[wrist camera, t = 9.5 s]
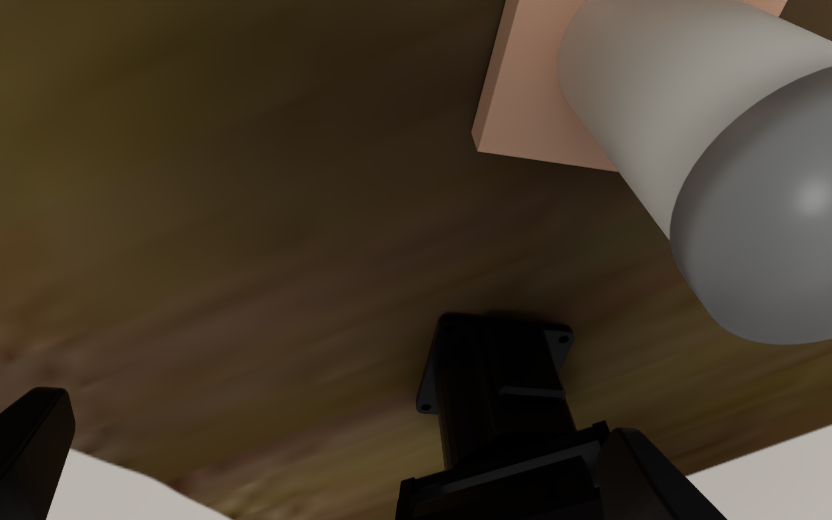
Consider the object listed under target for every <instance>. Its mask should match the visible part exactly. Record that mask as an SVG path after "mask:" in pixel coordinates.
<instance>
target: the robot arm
mask: <svg viewBox="0 0 832 520" xmlns="http://www.w3.org/2000/svg"><path fill="white" fill-rule="evenodd" d="M448 325H453V326H451V327H446V326H448ZM562 336H564V337H562ZM573 341H574V335H573V332H572V330H571V328H569V327H567V326H560V325H550V324H539V323H529V322H519V321H508V320H498V319H487V318H477V317H467V316H456V315H446V316H443V317H442V318H441V319H440V320H439V321H438V324H437V328H436V331H435V335H434V338H433V342H432V345H431V349H430V352H429V356H428V359H427V363H426V366H425V370H424V373H423V377H422V381H421V384H420V388H419V391H418V395H417V398H416V409H417V411H418V412H420V413H424V414H438V417H439V426H440V434H441V442H442V450H443V459H444V467H445V470H444V471H441V472H438V473H434V474H431V475H427V476H424V477H421V478H417V479H415V478H414V477H413V478H409V479H406V480H403V481H401V485H400V493H399V499H398V502H397V509H396V517H395V520H727V519H726V518H725V517H724V516H723V515H722V514H721V513H720V512H719V511H718V510H717V509H716V507H715V506H714V505H713V504H712V503H711V502H709V500H708V499H707V498H706V497H705V496H704V495H703V494H702V493H701V492H700V491H699V490H698V489H697V488H696V487H695V486H694V485H693V484H692V483H691V482H690V481H689V480H688V479H687V478H686V477H685V476H684V475H683V474H682V473H681V472H680V471H679V470H678V469H677V468H676V467H675V466H674V465H673V464H672V463H671V462H670V461H669V460H668V459H667V458H666V457H665V456H664V455H663V453H662V452H661V451H660V450H659V449H658V448H657V447H656V446H655V445H654V444H653V443H652V442H651V441H650V440H649V439H648V438H647V437H646V436H645V435H644V434H643V433H642V432H640V431H639V430H637V429H633V428H615V429H614V430H613V431H612V432H611V433H610V431H609V428H608V426H607V424H606V421H605V420H604V421H601V422H598V423H594V424H592V426H593V427H589V428H586V429H582V430H579V431H577V429H576V426H575V424H574V421H573V418H572V415H571V412H570V409H569V406H568V404H567V401H566V398H565V390H564V387H563V384H562V381H561V378H560V375H559V373H558V372H559V370H560V368H561V366H562V364H563V362H564V360H565V358H566V356H567V353H568V351H569V349H570V347H571V345H572V343H573ZM74 433H75V418H74V414H73V410H72V406H71V402H70V398H69V394H68V392H67V391H66V390H65V389H63V388H55V387H36V388H34V389H32V390H30V391H29V392H27V393H26V394H25V395H23V396H22V397H21V398H19V399H18V400H17V401H15V402H14V403H13V404H12V405H10V406H9V407H8V408H6V409H5V410H4V411H2V412H1V413H0V520H46V518H47V514H48V512H49V509H50V505H51V503H52V500H53V497H54V494H55V491H56V488H57V485H58V482H59V479H60V476H61V473H62V470H63V467H64V464H65V461H66V458H67V455H68V452H69V449H70V446H71V443H72V440H73V437H74Z"/></svg>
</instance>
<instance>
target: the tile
mask: <svg viewBox="0 0 832 520" xmlns="http://www.w3.org/2000/svg"><path fill="white" fill-rule="evenodd" d="M585 1H586V0H506V2H505V6H504V10H503V13H502V17H501V21H500V25H499V29H498V33H497V36H496V40H495V44H494V48H493V52H492V55H491V59H490V63H489V67H488V71H487V75H486V78H485V82H484V86H483V90H482V94H481V97H480V101H479V105H478V109H477V113H476V117H475V120H474V124H473V128H472V132H471V133H472V136H473V139H474V142H475V145H476V148H477V151H479V152H486V153H492V154H499V155H506V156H513V157H520V158H527V159H534V160H541V161H547V162H554V163H561V164H568V165H575V166H582V167H589V168H595V169H602V170H609V171H616V172H619V171H618V170H617V169H616V167H615V166H614V165H613V163H612V162H611V161H610V159H609V158H608V157H607V155H606V154H605V153H604V151H603V150H602V148H601V147H600V146H599V144H598V143H597V142H596V140H595V139H594V138H593V136H592V135H591V134H590V132H589V131H588V129H587V128H586V127H585V125H584V124H583V123H582V121H581V120H580V119H579V117H578V116H577V115H576V113H575V112H574V110H573V109H572V108H571V106H570V105H569V104H568V102H567V100H566V99H565V97H564V95H563V93H562V91H561V88H560V84H559V80H558V72H557V61H558V54H559V48H560V45H561V41H562V38H563V36H564V33H565V30H566V28H567V26H568V25H569V23H570V21H571V19H572V18H573V16H574V15H575V13H576V12H577V10H578V9H579V8H580V6H581V5H582V4H583V3H584V2H585ZM741 1H743V2H745V3H748V4H750V5H752V6H754V7H757V8H759V9H761V10H763V11H765V12H768V13H770V14H772V15H774V16H776V17H779V15H780V13H781V11H782V9H783V8H784V6H785V4H786V2H787V0H741Z"/></svg>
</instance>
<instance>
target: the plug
mask: <svg viewBox="0 0 832 520" xmlns="http://www.w3.org/2000/svg"><path fill="white" fill-rule="evenodd" d="M557 72H558V80H559V84H560V88H561V91H562V93H563V95H564V97H565V99H566V100H567V102H568V104H569V105H570V106H571V108H572V109H573V110H574V112H575V113H576V115H577V116H578V117H579V119H580V120H581V121H582V123H583V124H584V125H585V127H586V128H587V129H588V131H589V132H590V134H591V135H592V136H593V138H594V139H595V140H596V142H597V143H598V144H599V146H600V147H601V148H602V150H603V151H604V153H605V154H606V155H607V157H608V158H609V159H610V161H611V162H612V163H613V165H614V166H615V167H616V169H617V170H618V171H619V173H620V174H621V176H622V177H623V178H624V180H625V181H626V182H627V184H628V185H629V186H630V188H631V189H632V190H633V192H634V193H635V195H636V196H637V197H638V199H639V200H640V201H641V203H642V204H643V205H644V207H645V208H646V209H647V211H648V212H649V214H650V215H651V216H652V218H653V219H654V220H655V222H656V223H657V224H658V226H659V227H660V228H661V230H662V231H663V232H664V234H665V235H666V237H667V238H668V239H669V241H670V247H671V252H672V256H673V259H674V261H675V264H676V266H677V268H678V270H679V271H680V273H681V274H682V276H683V277H684V279H685V280H686V282H687V283H688V284H689V286H690V287H691V289H692V290H693V291H694V293H695V294H696V296H697V297H698V299H699V300H700V301H701V303H702V304H703V306H704V307H705V308H706V310H707V311H708V313H709V314H710V315H711V317H712V318H713V319H714V320H715V321H716V322H717V323H718V324H719V325H720V326H722V327H723V328H724V329H726V330H727V331H729V332H730V333H733V334H735V335H737V336H739V337H741V338H744V339H748V340H751V341H754V342H760V343H766V344H780V345H790V344H804V343H811V342H818V341H823V340H827V339H832V41H830V40H827V39H825V38H823V37H821V36H819V35H816V34H814V33H812V32H810V31H807V30H805V29H803V28H801V27H799V26H796V25H794V24H792V23H790V22H788V21H785V20H783V19H781V18H779V17H776V16H774V15H772V14H770V13H768V12H765V11H763V10H761V9H759V8H757V7H754V6H752V5H750V4H748V3H745V2H743V1H741V0H586V1H585V2H584V3H583V4H582V5H581V6H580V8H579V9H578V10H577V12H576V13H575V15H574V16H573V18H572V19H571V21H570V23H569V25H568V26H567V28H566V30H565V33H564V36H563V38H562V41H561V45H560V48H559V54H558V61H557Z"/></svg>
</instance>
